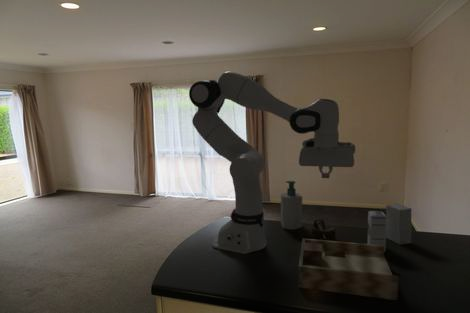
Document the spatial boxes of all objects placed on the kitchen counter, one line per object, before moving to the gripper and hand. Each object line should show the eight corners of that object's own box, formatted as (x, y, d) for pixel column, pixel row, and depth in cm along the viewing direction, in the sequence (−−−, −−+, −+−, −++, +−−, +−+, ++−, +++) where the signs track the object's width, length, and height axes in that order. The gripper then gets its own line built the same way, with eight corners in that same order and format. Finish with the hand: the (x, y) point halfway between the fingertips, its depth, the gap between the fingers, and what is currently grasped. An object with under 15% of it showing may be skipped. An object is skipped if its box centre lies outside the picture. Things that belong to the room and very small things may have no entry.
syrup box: (385, 251, 118) (387, 215, 116) (369, 250, 119) (371, 215, 117) (381, 245, 123) (383, 211, 121) (366, 244, 124) (367, 210, 123)
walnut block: (303, 264, 101) (303, 249, 101) (304, 256, 107) (304, 242, 106) (321, 266, 100) (322, 251, 99) (321, 257, 105) (322, 244, 105)
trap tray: (298, 287, 95) (298, 266, 94) (302, 255, 116) (302, 238, 115) (397, 300, 87) (398, 277, 86) (382, 264, 108) (383, 245, 107)
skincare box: (411, 243, 125) (413, 208, 123) (398, 245, 123) (400, 210, 121) (396, 235, 133) (398, 203, 131) (384, 237, 131) (386, 204, 129)
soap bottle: (292, 221, 153) (292, 178, 150) (305, 226, 146) (306, 181, 143) (276, 225, 148) (276, 181, 145) (289, 231, 140) (290, 184, 137)
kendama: (329, 229, 143) (337, 246, 123) (308, 229, 144) (313, 246, 124) (329, 217, 142) (337, 232, 122) (308, 217, 143) (313, 232, 124)
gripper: (354, 141, 115) (353, 177, 117) (299, 141, 121) (299, 175, 123) (356, 143, 109) (355, 180, 111) (298, 142, 115) (298, 178, 117)
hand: (325, 177), depth 117 cm, fingers closed
